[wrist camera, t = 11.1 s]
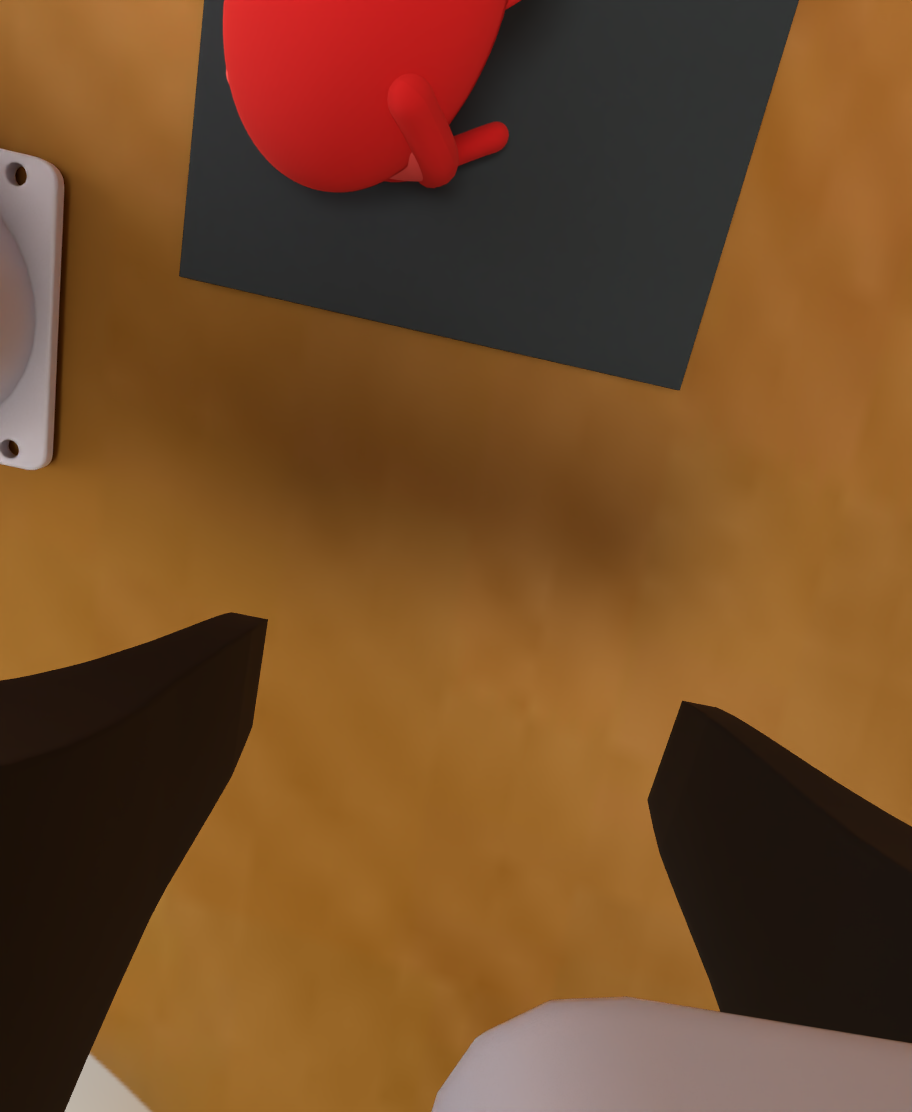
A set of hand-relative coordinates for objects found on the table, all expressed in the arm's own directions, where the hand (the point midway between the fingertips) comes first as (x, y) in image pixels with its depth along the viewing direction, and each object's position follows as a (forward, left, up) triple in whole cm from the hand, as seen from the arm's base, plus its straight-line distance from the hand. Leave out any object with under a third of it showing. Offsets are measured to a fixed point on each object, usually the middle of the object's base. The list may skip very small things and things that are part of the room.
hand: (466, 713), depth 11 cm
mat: (-2, +11, -9) cm, 15 cm away
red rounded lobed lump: (-4, +12, -10) cm, 16 cm away
